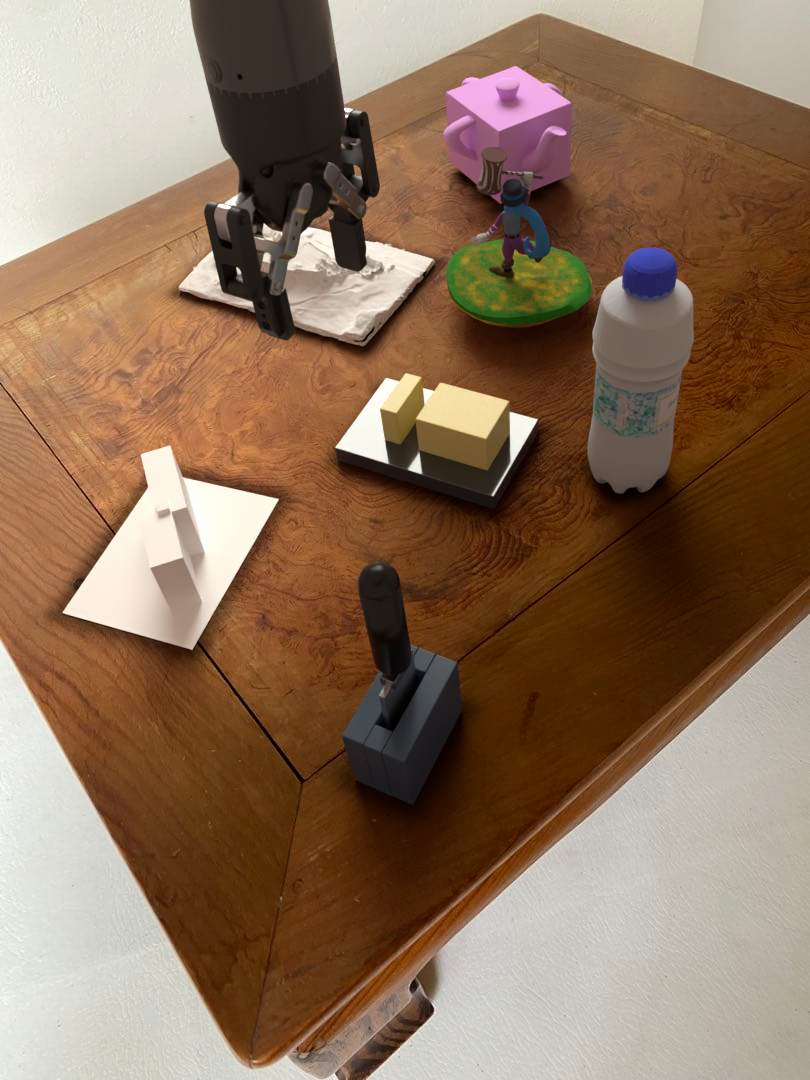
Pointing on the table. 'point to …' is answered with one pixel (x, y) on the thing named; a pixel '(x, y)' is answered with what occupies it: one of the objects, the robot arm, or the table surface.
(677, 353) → the bottle
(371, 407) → the board
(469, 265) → the figurine
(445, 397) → the butter block
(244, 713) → the table surface
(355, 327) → the terrain model
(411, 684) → the knife
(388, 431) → the butter pat
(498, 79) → the teapot
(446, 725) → the knife stand
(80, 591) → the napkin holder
